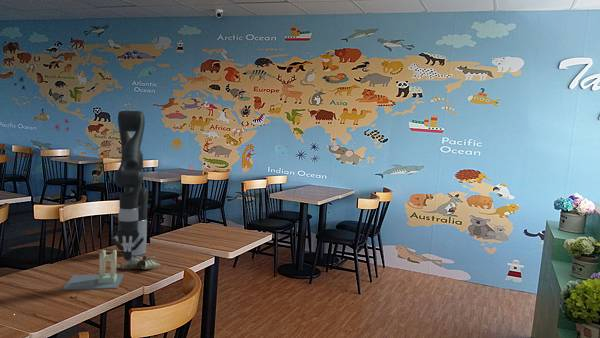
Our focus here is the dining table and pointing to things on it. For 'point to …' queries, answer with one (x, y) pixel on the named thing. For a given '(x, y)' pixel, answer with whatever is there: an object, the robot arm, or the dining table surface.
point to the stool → (102, 263)
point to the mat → (90, 282)
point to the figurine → (140, 263)
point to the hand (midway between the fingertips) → (127, 260)
